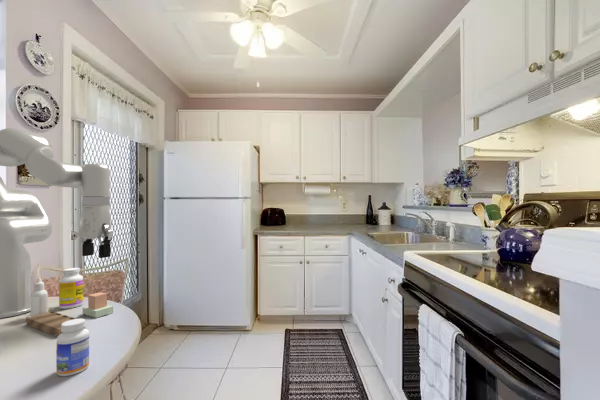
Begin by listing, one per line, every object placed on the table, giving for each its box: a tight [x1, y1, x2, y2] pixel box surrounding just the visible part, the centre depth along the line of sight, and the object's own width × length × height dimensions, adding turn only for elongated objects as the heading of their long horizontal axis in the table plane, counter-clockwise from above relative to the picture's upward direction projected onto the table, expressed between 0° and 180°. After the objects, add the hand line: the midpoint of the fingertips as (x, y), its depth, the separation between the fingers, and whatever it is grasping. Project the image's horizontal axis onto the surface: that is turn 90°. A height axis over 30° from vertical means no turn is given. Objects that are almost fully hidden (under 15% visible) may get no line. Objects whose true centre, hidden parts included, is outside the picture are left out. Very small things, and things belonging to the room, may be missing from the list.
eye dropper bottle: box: [30, 277, 49, 317], centre depth 93 cm, size 4×6×12 cm
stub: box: [81, 291, 114, 319], centre depth 95 cm, size 8×5×6 cm, turn 61°
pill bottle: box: [55, 318, 90, 377], centre depth 61 cm, size 5×5×10 cm
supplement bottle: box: [58, 267, 84, 310], centre depth 103 cm, size 7×7×13 cm
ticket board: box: [25, 310, 86, 337], centre depth 85 cm, size 20×6×2 cm, turn 61°
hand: (96, 256), depth 95 cm, fingers open, 9 cm apart
